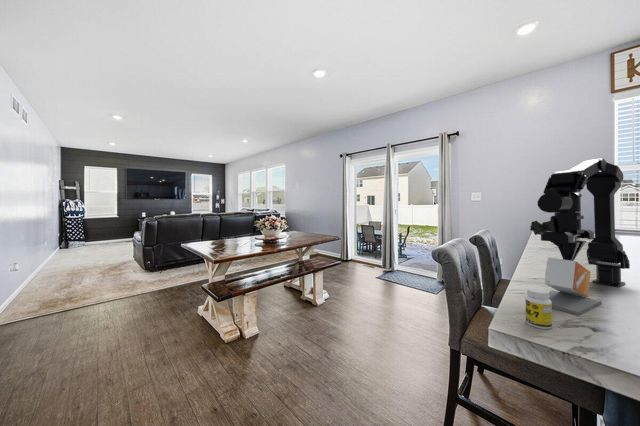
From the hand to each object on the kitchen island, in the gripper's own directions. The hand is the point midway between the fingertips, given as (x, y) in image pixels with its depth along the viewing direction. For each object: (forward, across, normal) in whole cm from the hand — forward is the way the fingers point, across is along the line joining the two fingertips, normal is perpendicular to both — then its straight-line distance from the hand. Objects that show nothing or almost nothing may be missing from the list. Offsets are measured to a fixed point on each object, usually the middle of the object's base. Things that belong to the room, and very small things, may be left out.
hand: (568, 263), depth 75 cm
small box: (+6, -5, 0) cm, 8 cm away
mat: (+11, +5, +1) cm, 12 cm away
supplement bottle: (+12, +27, +4) cm, 30 cm away
